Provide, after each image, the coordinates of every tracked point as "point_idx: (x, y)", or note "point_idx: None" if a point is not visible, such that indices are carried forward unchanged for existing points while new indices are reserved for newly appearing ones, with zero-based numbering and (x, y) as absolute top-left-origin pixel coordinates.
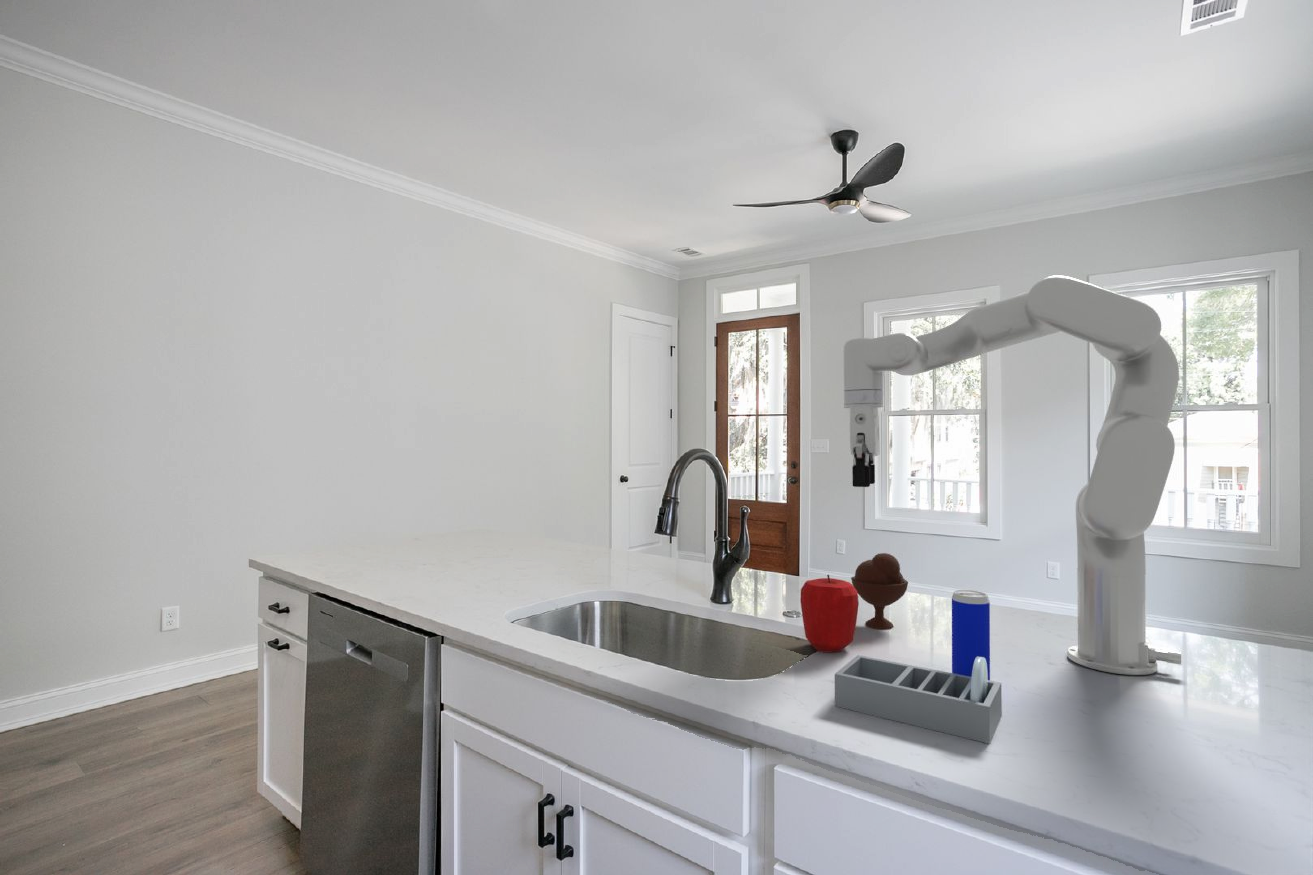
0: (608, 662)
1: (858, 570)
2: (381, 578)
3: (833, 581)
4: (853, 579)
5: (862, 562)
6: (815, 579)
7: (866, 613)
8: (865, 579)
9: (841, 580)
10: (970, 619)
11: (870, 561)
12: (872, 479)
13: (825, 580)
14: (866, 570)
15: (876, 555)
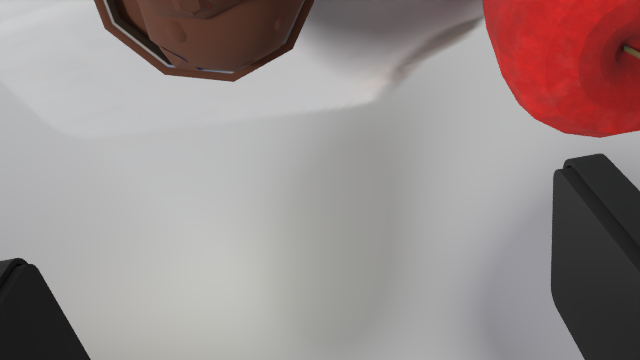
0: None
1: (268, 52)
2: None
3: (603, 48)
4: (268, 60)
5: (228, 56)
6: (619, 109)
7: None
8: (302, 2)
9: (598, 22)
10: None
11: (239, 16)
12: (21, 300)
13: (601, 78)
14: (288, 11)
15: (204, 2)
